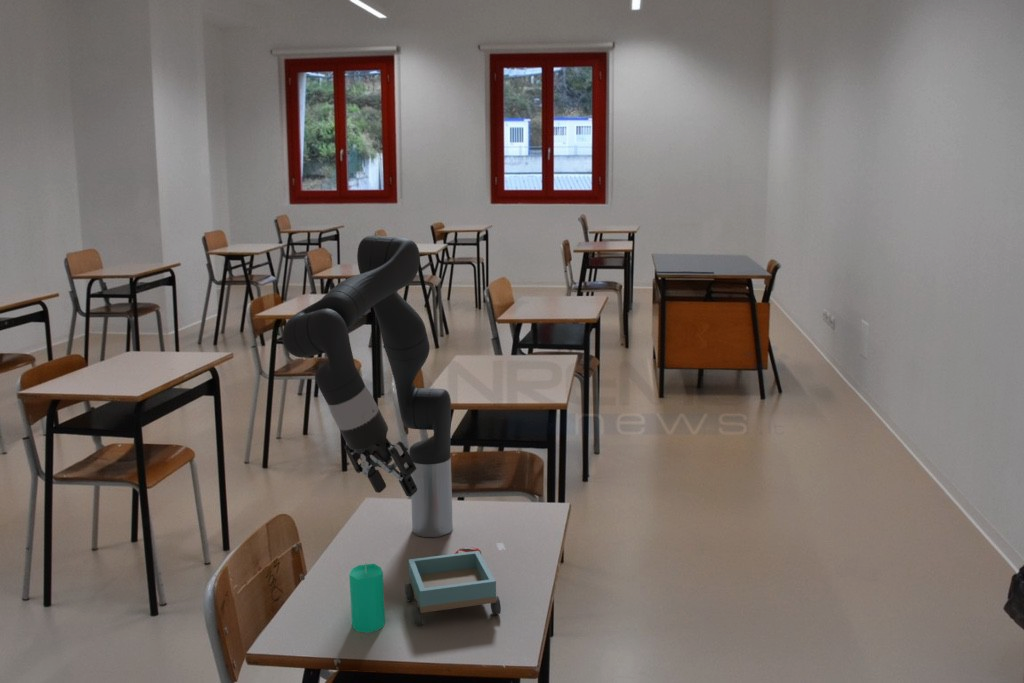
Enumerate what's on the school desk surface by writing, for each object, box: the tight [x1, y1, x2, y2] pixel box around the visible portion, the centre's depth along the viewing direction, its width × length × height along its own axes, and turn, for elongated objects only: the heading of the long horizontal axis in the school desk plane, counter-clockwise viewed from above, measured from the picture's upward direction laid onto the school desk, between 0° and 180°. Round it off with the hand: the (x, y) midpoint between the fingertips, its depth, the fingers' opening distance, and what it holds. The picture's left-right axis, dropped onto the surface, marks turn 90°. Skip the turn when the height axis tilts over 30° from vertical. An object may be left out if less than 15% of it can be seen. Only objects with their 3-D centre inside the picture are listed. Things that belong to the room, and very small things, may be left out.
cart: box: [404, 551, 502, 626], centre depth 178 cm, size 14×16×7 cm
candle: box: [349, 563, 386, 633], centre depth 172 cm, size 6×6×12 cm
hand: (396, 491), depth 167 cm, fingers open, 8 cm apart
